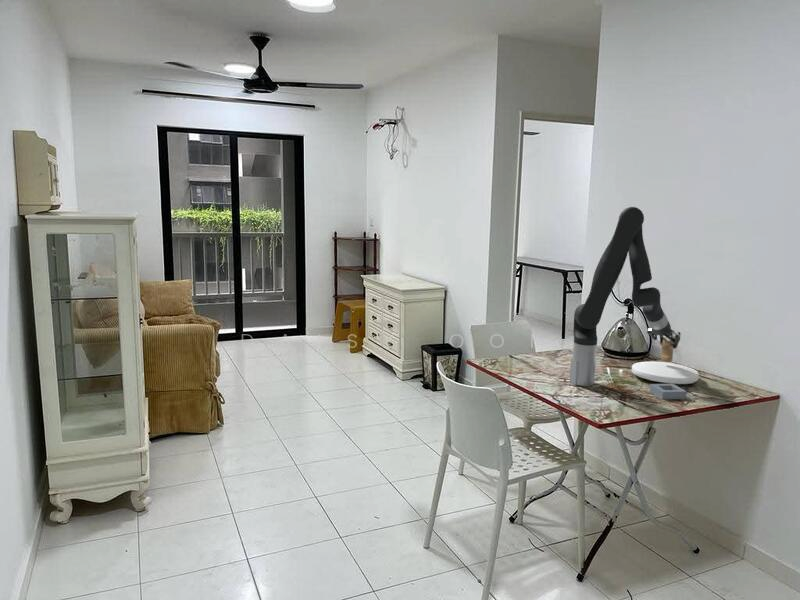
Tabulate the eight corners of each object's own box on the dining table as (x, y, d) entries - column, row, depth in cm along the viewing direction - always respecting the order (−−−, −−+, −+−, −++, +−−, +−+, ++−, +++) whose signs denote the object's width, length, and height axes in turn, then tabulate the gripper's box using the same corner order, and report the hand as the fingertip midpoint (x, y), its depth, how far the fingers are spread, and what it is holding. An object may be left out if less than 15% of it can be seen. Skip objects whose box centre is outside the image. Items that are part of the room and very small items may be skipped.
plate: (626, 357, 266) (689, 361, 260) (625, 371, 266) (688, 376, 261) (639, 368, 238) (709, 373, 233) (638, 383, 239) (708, 389, 233)
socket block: (662, 399, 223) (662, 391, 223) (649, 391, 233) (650, 384, 232) (685, 398, 224) (686, 391, 224) (672, 390, 234) (672, 383, 233)
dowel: (664, 361, 246) (666, 331, 244) (659, 358, 251) (661, 329, 248) (674, 361, 247) (676, 331, 244) (668, 358, 251) (670, 329, 249)
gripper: (678, 317, 235) (689, 341, 245) (645, 312, 246) (656, 336, 255) (671, 332, 232) (683, 356, 242) (637, 326, 243) (650, 349, 253)
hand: (669, 345), depth 249 cm, fingers closed on dowel, 4 cm apart
